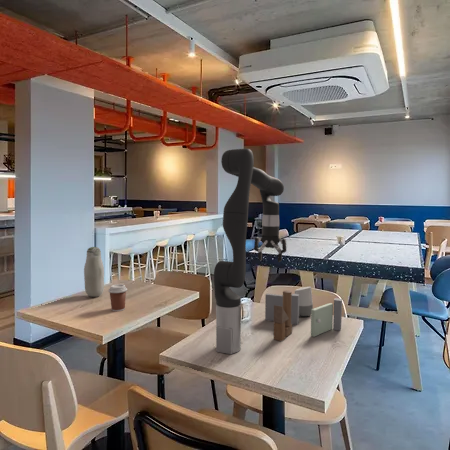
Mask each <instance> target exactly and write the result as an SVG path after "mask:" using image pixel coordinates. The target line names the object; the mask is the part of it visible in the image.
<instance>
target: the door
mask: <svg viewBox="0 0 450 450" xmlns="http://www.w3.org/2000/svg"><path fill="white" fill-rule="evenodd" d="M333 320H334V303H332V302H329V303H328V302H327V303H326V304H323V305H320V306H317V307H314V308H313V309H311V315H310V336H311V337H314V338H315V337H318V335H321V334H324V333H326V332H328V331H330V330H333Z"/></svg>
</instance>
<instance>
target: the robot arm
mask: <svg viewBox="0 0 450 450" xmlns="http://www.w3.org/2000/svg"><path fill="white" fill-rule="evenodd" d="M254 158H255V157H254V153H253V151H252V150H251V149H250V148H236V149H228V150H226V151H224V152H223V154H222V156H221V167H222V169H223V170H224V172H225V173H227V174H229V175H232V176H235V177H237V178H238V179H237V183H236V186H235V188H234V190H233V192H232V193H231V195H230V196H229V197H228V199H227V201H226V203H225V205H224V207H223V214H222V215H223V216H222V228H223V231H224V233H225V235H226V238H227V239H228V242H229V243H230V246H231V249H232V261H227V260H220V261H218V262H217V263H216V264H215V266H214V269H213V270H214V271H213V284H214V285H213V286H214V287H213V289H214V299H215V301H216V303H215V318H216V320H215V321H216V322H215V323H216V324H215V327H216V328H215V330H216V331H215V334H216V336H215V341H216V342H215V344H216V346H215V349H216V352H217V353H222V354H227V355H233V354H235V353H238V352H240V350H241V349H242V348H241V347H242V346H241V343H242V342H241V340H242V338H241V337H242V336H241V334H242V333H241V331H242V330H241V329H242V321H241V320H242V316H241V314H242V299H241V296H240V295H239V294H237V293H235V291H233V290H232V289H231V288H234V289H235V288H237V289H240V288H241V287H242V286H243V285H244V283H245V280H246V270H247V269H246V268H247V264H246V263H247V261H246V259H247V256H246V252H247V251H246V250H247V249H246V244H247V232H248V221H249V219H248V218H249V205H250V192H251V184H252V185H253V186H254V187H256V188H257V189H258V190H259V194H260V197H261V201H262V219H261V220H262V221H261V223H262V226H261V237H258V236H257V237H255V238H254V246H253V247H254V248H253V250H254V252H255V251H256V252H257V259H258V261H259V262H260V261H261V262H262V261H263V250H264V249H265V248H266V249H269V248H270V249H275V251H277V263H281V261H282V260H283V253H286V252H287V239H286V238H280V203H279V202H278V201H274V200H271V197H279V196H281V195H282V194H283V193H284V190H285V186H284V183H283V182H282V181H281V180H280V179H279V178H276V177H274V176H271V175H269V174H268V173H267V172H265V171H264V170H263V169H260V168H258V167H255V166H254V160H255V159H254ZM260 243H262V245H261V246H260V247H259V245H260ZM279 243H280V244H281V245H282V246H281V247H282V249H281V247H280V245H279Z"/></svg>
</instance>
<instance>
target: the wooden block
mask: <svg viewBox="0 0 450 450" xmlns="http://www.w3.org/2000/svg"><path fill="white" fill-rule="evenodd" d="M292 294H293V293H292V291H291V290H283V291H282V295H283V307H282V306H276V305H274V321H273V340H275V341H279V342H283V341H284V340H285V339H286V338H287V337H289V336H290V335H291V334H292V333H293V324H291V300H292Z"/></svg>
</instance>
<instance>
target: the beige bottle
mask: <svg viewBox="0 0 450 450" xmlns="http://www.w3.org/2000/svg"><path fill="white" fill-rule="evenodd" d="M103 263H104V261H103V259H102V252H101V249H100V248H99V247H98V246H90V247H88V248H87V250H86V258H85V263H84V268H83V277H84V290H85V293H86V294H87V296H89V297H90V298H98V297H100V296H102V295H103V293H104V290H105V266H104V264H103Z"/></svg>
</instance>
